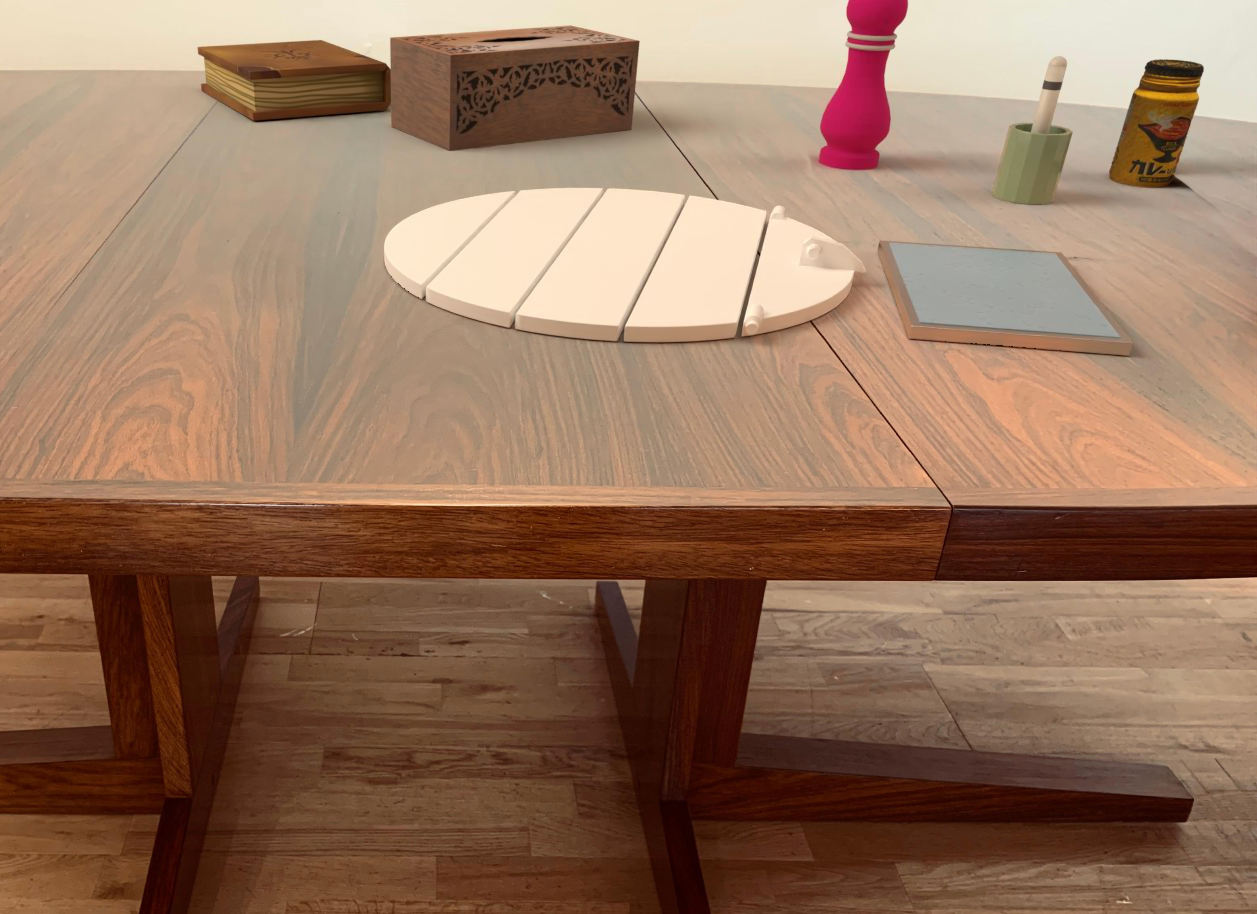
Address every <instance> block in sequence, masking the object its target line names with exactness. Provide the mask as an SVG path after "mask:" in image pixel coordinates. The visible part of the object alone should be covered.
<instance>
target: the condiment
mask: <svg viewBox="0 0 1257 914" xmlns="http://www.w3.org/2000/svg"><path fill="white" fill-rule="evenodd" d="M1204 72H1205V67H1204V65H1203V64H1201V63H1199V62H1197V61H1191V60H1190V61H1189V60H1182V59H1165V58H1164V59H1161V58H1160V59H1153V60H1152V59H1151V60H1149V61H1147V63H1146V64H1145V65H1144V72H1143V74H1142V76H1141V78H1140V79H1139V83H1138V87H1136V89H1134V91H1133V93H1132V95H1131V99H1130V102H1129V105H1128V109H1127V112H1126V115H1125V119H1124V121H1123V124H1122V128H1121V132H1120V135H1119V138H1118V141H1117V146H1116V148H1115V151H1114V155H1113V157H1112V161H1111V165H1110V168H1109V170H1108V173H1109V174H1108V175H1109V180H1110V181H1112V182H1114V183H1117V184H1120V185H1125V186H1130V187H1134V188H1135V187H1137V188H1146V189H1149V188H1150V189H1157V188H1158V189H1159V188H1166V187H1169V186H1170V183H1171V182H1172V180H1173V179H1174V178H1175V173H1176V171H1177V167H1178V164H1179V163H1180V157H1181V154H1182V152H1183V149H1184V147H1185V143H1186V139H1187V137H1188V133H1189V131H1190V128H1191V124H1192V120H1193V118H1194V116H1195V112H1196V110H1197V107H1198V105H1199V100H1200V96H1199V93H1198V89H1199V87H1200V86H1201V80H1202V77H1203V73H1204Z"/></svg>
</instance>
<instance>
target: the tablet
mask: <svg viewBox="0 0 1257 914" xmlns="http://www.w3.org/2000/svg"><path fill="white" fill-rule="evenodd" d="M877 254H878V257H879V259H880V262H881V265H882V268H883V271H884V273H885V276H886V279H887V281H888V285H889V287H890V290H891V293H892V296H893V299H894V302H895V304H896V307H897V310H898V312H899V315H900V317H901V321H902V324H903V326H904V329H905V333H906V335H907V338H908V339H909V340H920V341H921V340H922V341H933V342H945V341H946V342H948V343H958V344H959V343H960V344H970V343H973V344H972V345H983V344H986V346H988V345H987V344H990V345H989V346H996V345H1003V346H1002V347H1009V346H1010V347H1011V346H1013V347H1011V348H1022V347H1026V348H1025V349H1034V348H1036V350H1048V351H1050V350H1051V351H1060V350H1061V352H1062V351H1063V352H1073V353H1074V352H1075V353H1085V354H1099V355H1100V354H1101V355H1110V356H1111V355H1113V356H1125V357H1129V356H1130V355H1131V352H1132V349H1133V346H1134V341H1133V340H1132V339H1131V338H1130V337H1129V335H1128V333H1126V331H1125V330H1124V329H1123V328H1122V326H1121V325H1120V324H1119V323H1118V322H1117V320H1116V319H1115V317H1113V315H1112V314H1111V313H1110V311H1109V310H1108V308H1107V307H1106V306H1105V305H1104V304H1103V302H1102V301H1101V300H1100V298H1098V297H1097V295H1096V294H1095V293H1094V291H1093V289H1091V287H1090V286H1089V285H1088V284H1087V282H1086V281H1085V280H1084V278H1082V276H1081V275H1080V273H1079V272H1078V271H1077V270H1076V269H1075V268H1074V266H1073V265H1072V264H1071V262H1070V261H1069V260H1068V259H1067V258H1066V256H1065V255H1064V254H1063V253H1062V252H1061V251H1060V252H1059V251H1046V250H1030V249H1016V248H1015V249H1013V248H1001V247H1000V248H999V247H985V246H972V245H971V246H969V245H955V244H939V243H924V242H909V241H895V240H894V241H893V240H879V241H878V245H877ZM975 343H977V344H975Z"/></svg>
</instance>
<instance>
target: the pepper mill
mask: <svg viewBox="0 0 1257 914" xmlns="http://www.w3.org/2000/svg"><path fill="white" fill-rule="evenodd" d="M908 9H909V0H848V1H847V5H846V10H845V11H846V12H845V13H846V14H845V16H846V19H847V21H848V23H849V25H850V27H851V30H849V31H848V32H847V33H846V36H847V38H846V41H845V43H844V45H845V47H847V48H848V51H847V52H848V53H847V61H846V67H845V71H844V74H843V76H842V79H841V81H840V84H839V85H838V87H837V89H836V91H835V92H834V94H833V95H832V97H831V98H830V100H829V101H828V103H827V105H826V107H825V109H824V110H823V113H822V117H821V120H820V125H819V130H820V133H821V136H822V137H823V139H824V140H825V142H826V145H825V146H822V147H821V148H820V149H819V156H818V163H819V164H820V165H822V166H824V167H827V168H828V167H829V168H833V169H838V170H846V171H868V170H874V169H876V168H878V165H879V161H880V157H881V154H880V152H879V150H877V147H878V145H880V144H881V143H882V142H883V141H884V140H885V139H887V137H888V136H889V133H890V129H891V123H892V122H891V121H892V118H891V117H892V116H891V108H890V103H889V100H888V95H887V90H886V83H885V80H886V79H885V75H886V69H887V63H888V59H889V56H890V52H891V51H892V50H894V49H895V48H896V44H895V43H896V40H897V38H898V34H897V33H895V31H896V30H897V28H898V27H899V26H900V25H901V24H902V23H903V22H904V20H905V19H906V17H907V13H908Z"/></svg>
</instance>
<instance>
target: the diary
mask: <svg viewBox="0 0 1257 914" xmlns="http://www.w3.org/2000/svg"><path fill="white" fill-rule="evenodd" d="M197 55H198V56H201V57H203V61H204V63H203V64H204V71H205V73H204V74H205V82H204V83H200V88H201V90H200V91H201V92H203V93H205V94H206V95H208V96H210V97H212V98H214V99H215V100H217V101H219V102H221V103H222V104H224V105H226V106H227V107H229V108H231V109H232V110H234V111H236V112H238V113H240V114H241V115H243V116H244V117H246V118H248V119H250V120H252V121H265V120H277V119H290V118H291V119H292V118H301V117H302V118H304V117H312V116H313V117H314V116H326V115H337V114H338V115H340V114H350V113H351V114H352V113H364V112H375V111H386V110H388V108H389V107H390V106H391V67H390V66H389V65H388V64H387V63H386V62H383V61H381V60H379V59H375V58H372V57H370V56H367V55H364V54H361V53H360V52H355V51H353V50H350V49H348V48H345V47H342V46H340V45H336V44H333V43H330V42H328V41H325V40H322V39H315V40H314V39H312V40H297V41H281V42H280V41H279V42H278V41H277V42H262V43H261V42H260V43H243V44H225V45H207V46H206V45H205V46H197Z"/></svg>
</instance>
